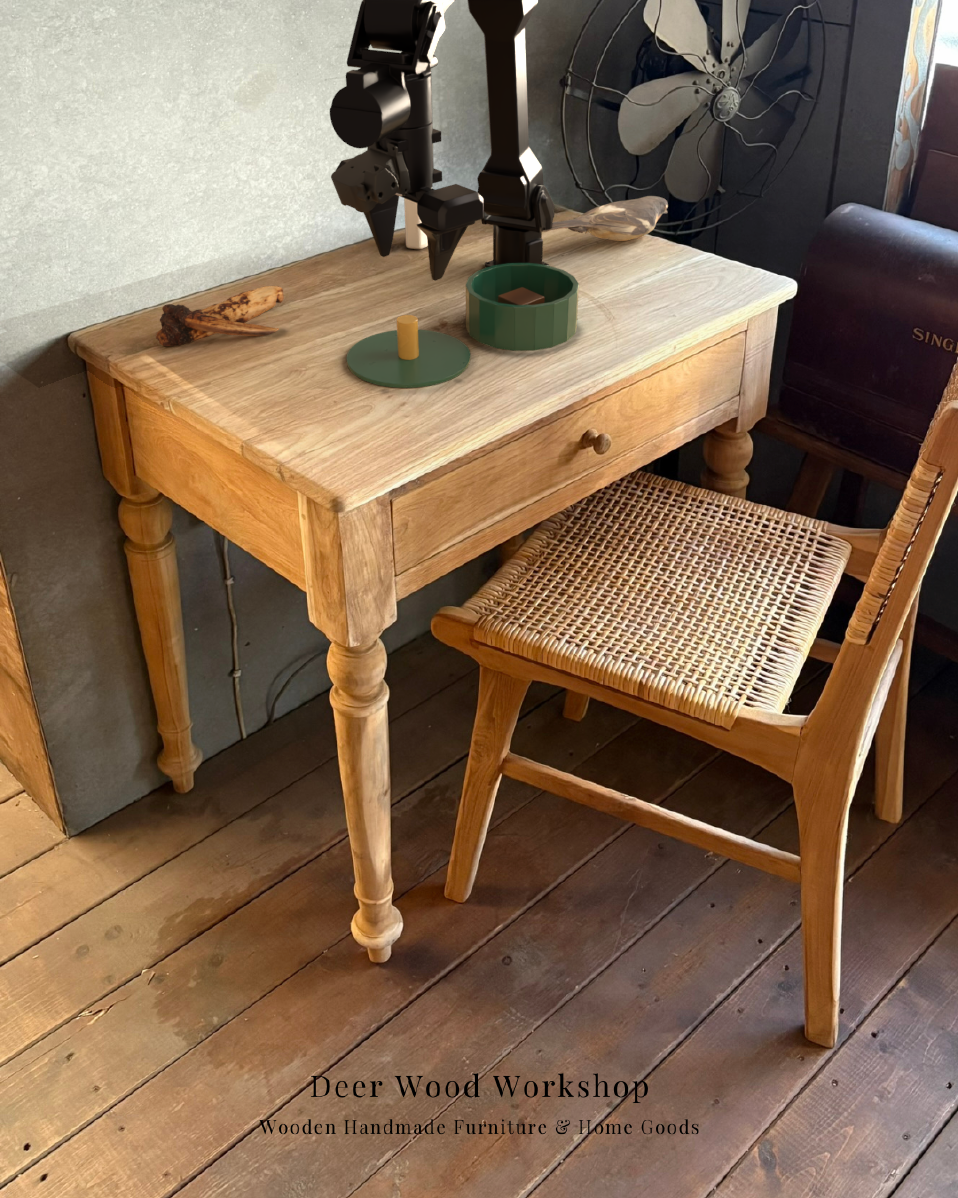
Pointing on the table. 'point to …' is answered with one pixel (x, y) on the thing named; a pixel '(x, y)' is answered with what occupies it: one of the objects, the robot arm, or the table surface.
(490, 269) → the tin
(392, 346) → the lid
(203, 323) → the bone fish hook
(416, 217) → the eye dropper bottle
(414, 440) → the table surface
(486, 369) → the table surface
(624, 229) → the decorative bird
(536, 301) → the block
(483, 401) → the table surface
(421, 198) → the robot arm
